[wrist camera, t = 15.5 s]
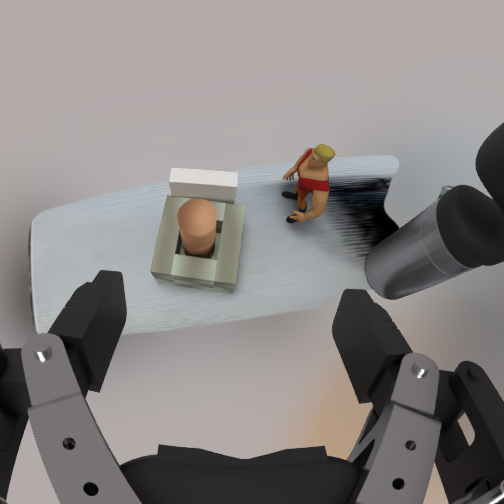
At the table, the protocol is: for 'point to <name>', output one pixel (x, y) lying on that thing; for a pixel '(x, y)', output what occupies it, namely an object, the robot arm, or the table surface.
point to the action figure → (310, 182)
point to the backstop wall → (204, 184)
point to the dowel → (198, 227)
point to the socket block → (194, 268)
